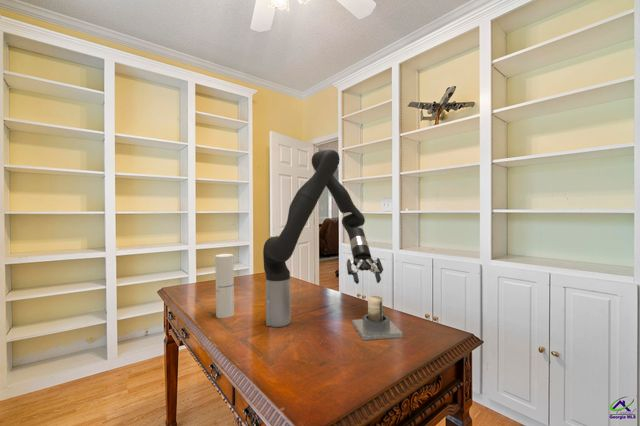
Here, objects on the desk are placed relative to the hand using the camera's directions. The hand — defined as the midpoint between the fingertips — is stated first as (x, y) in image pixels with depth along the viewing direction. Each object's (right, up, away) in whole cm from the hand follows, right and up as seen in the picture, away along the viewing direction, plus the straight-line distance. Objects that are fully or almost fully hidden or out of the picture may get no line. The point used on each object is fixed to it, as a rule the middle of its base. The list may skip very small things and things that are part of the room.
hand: (368, 282), depth 114 cm
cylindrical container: (-59, -16, +8) cm, 61 cm away
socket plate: (+1, -15, -8) cm, 18 cm away
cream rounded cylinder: (+1, -14, -8) cm, 16 cm away
